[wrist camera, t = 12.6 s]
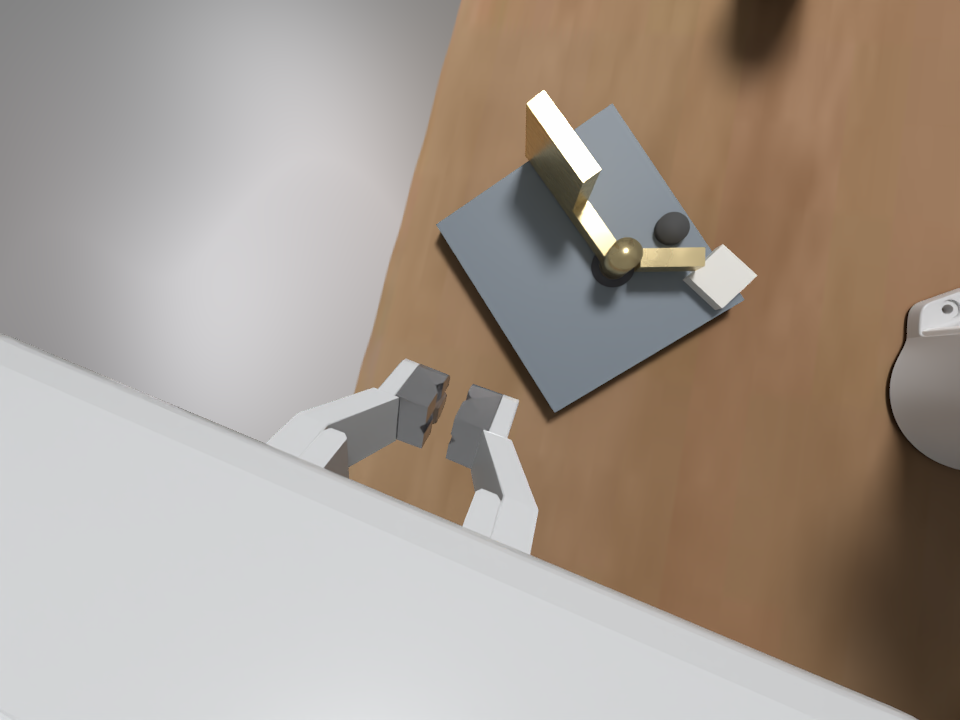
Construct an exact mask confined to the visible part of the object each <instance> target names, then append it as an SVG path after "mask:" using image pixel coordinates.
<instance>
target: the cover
mask: <svg viewBox="0 0 960 720" xmlns="http://www.w3.org/2000/svg"><path fill="white" fill-rule="evenodd" d="M756 276H757V275H756V274H755V273H754V272H753V271H752V270H751V269H750V268H749V267H747V266H746V265H745V264H744V263H743V262H742V261H741V260H740V259H739V258H738V257H736V256H735V255H734V254H733V253H732V252H731V251H730V250H729V249H728V248H727V247H725V246H724V245H721V246H719V247H717V248H715V249H714V250H713V251H712V252H711V253H710V254H709V255H708V256H707V257H706V258H705V266H704V267H702V268H700V269H698V270H696V271H692V272H691V273H689V274H688V275H687V276H686V277H685V278H684V279H683V281H684V282H685V283H686V284H688V285H689V286H690V287H691V288H692V289H693V290H694V291H695V292H696V293H697V294H698V295H699V296H700V297H702V298H703V299H704V300H705V301H706V302H707V303H708V304H709V305H710V306H711V307H712V308H713V309H714V310H718V309H722V308H723V307H724V306H726V305H727V304H728V303H729V302H730V301H731V300H732V299H733V298H734V297H735V296H736V295H737V294H738V293H739V292H740V291H741V290H743V289H744V288H745V287H746V286H747V285H748V284H749V283H750V282H751V281H752V280H753V279H754V278H755V277H756Z"/></svg>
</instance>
